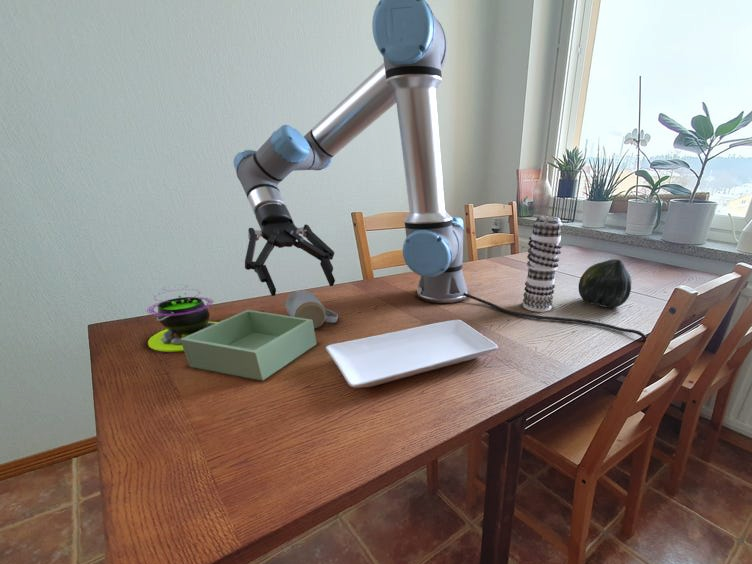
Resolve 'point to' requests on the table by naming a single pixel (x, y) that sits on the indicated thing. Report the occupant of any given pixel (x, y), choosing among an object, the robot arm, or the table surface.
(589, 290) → the squash
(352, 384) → the tray
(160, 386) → the table surface
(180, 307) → the toy cauldron
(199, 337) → the bin
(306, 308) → the ceramic mug
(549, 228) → the decorative candle
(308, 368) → the table surface
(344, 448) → the table surface
